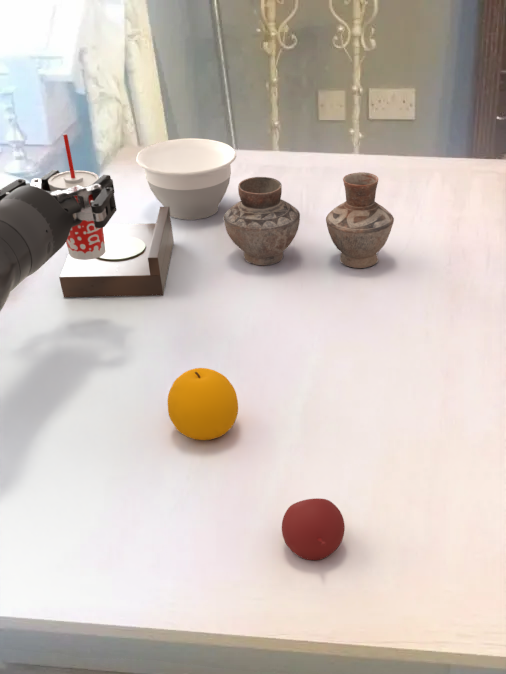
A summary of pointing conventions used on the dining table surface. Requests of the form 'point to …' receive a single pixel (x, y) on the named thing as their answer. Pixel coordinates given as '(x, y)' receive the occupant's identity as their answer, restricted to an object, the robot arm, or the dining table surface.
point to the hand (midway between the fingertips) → (83, 180)
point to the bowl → (188, 175)
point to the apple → (202, 404)
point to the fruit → (313, 528)
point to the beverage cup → (84, 236)
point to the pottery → (283, 221)
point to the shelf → (124, 262)
